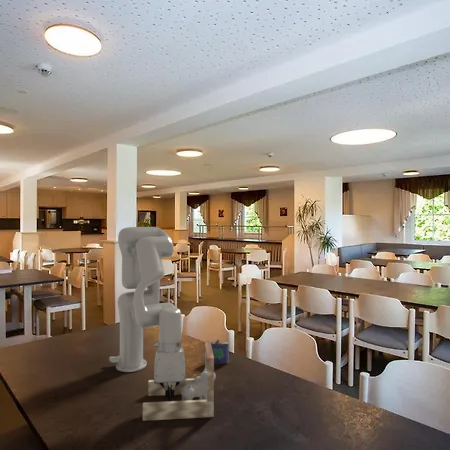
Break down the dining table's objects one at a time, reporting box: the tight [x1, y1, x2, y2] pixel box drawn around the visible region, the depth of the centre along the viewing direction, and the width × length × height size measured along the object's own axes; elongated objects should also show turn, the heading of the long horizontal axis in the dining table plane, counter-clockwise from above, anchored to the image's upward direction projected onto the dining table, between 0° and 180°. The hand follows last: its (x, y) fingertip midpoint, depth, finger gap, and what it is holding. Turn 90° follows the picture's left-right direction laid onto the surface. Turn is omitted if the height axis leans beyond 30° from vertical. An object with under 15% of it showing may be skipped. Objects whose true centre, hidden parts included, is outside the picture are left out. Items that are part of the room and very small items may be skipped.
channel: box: [142, 339, 215, 422], centre depth 116 cm, size 22×16×19 cm
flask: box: [211, 338, 230, 365], centre depth 150 cm, size 9×3×11 cm, turn 87°
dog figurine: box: [180, 368, 217, 401], centre depth 117 cm, size 5×13×11 cm, turn 128°
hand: (169, 399), depth 116 cm, fingers closed
